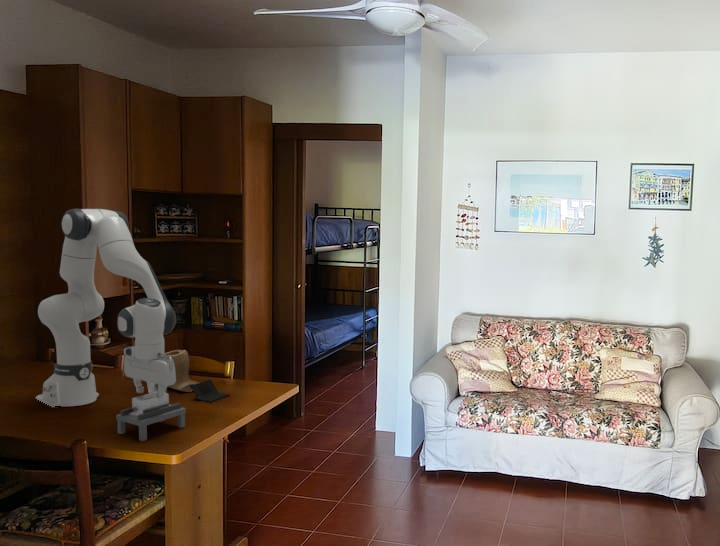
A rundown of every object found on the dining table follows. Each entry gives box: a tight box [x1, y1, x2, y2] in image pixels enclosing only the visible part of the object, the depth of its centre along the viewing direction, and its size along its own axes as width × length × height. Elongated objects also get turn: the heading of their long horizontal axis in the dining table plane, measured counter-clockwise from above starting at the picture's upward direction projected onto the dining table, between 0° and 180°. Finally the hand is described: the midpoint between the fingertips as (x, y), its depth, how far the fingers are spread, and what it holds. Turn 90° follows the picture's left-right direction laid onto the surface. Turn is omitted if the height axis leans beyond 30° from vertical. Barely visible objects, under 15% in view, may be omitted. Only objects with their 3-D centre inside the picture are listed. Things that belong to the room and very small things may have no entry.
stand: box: [115, 402, 187, 442], centre depth 219 cm, size 12×17×8 cm
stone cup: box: [164, 349, 199, 393], centre depth 267 cm, size 15×12×15 cm
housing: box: [129, 391, 171, 418], centre depth 218 cm, size 13×5×5 cm, turn 146°
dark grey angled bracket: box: [191, 379, 230, 404], centre depth 256 cm, size 12×7×10 cm
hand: (150, 395), depth 218 cm, fingers open, 8 cm apart
